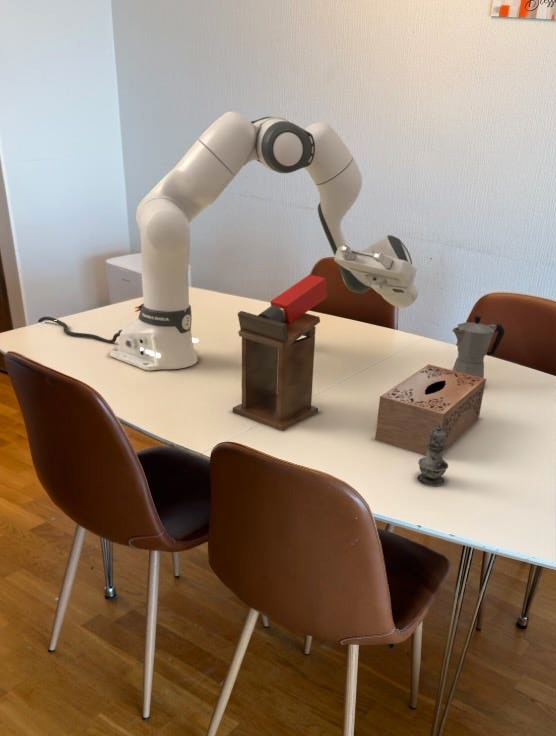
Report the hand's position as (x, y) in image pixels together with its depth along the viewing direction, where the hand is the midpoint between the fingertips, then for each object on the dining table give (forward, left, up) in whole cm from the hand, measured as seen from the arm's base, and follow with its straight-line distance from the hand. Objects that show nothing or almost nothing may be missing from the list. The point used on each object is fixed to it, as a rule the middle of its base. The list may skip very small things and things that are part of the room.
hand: (360, 251), depth 168 cm
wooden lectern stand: (-5, -29, -32) cm, 43 cm away
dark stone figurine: (+36, -41, -32) cm, 63 cm away
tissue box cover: (+28, -18, -32) cm, 46 cm away
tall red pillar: (-4, -25, -12) cm, 28 cm away
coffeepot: (+28, +16, -32) cm, 45 cm away
